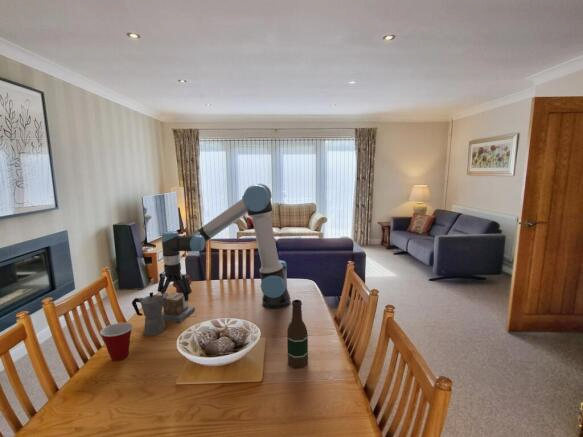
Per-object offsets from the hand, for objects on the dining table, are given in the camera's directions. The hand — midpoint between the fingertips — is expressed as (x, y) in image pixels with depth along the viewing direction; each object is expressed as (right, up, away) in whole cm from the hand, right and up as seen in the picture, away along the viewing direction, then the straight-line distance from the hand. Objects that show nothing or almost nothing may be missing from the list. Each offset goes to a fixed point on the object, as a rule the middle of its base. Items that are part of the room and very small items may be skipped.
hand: (175, 306), depth 144 cm
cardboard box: (0, -3, 0) cm, 3 cm away
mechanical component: (-5, -1, +24) cm, 25 cm away
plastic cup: (-9, -10, -32) cm, 34 cm away
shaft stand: (0, -5, +1) cm, 5 cm away
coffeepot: (-5, -7, -13) cm, 16 cm away
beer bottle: (+60, -10, -37) cm, 71 cm away
